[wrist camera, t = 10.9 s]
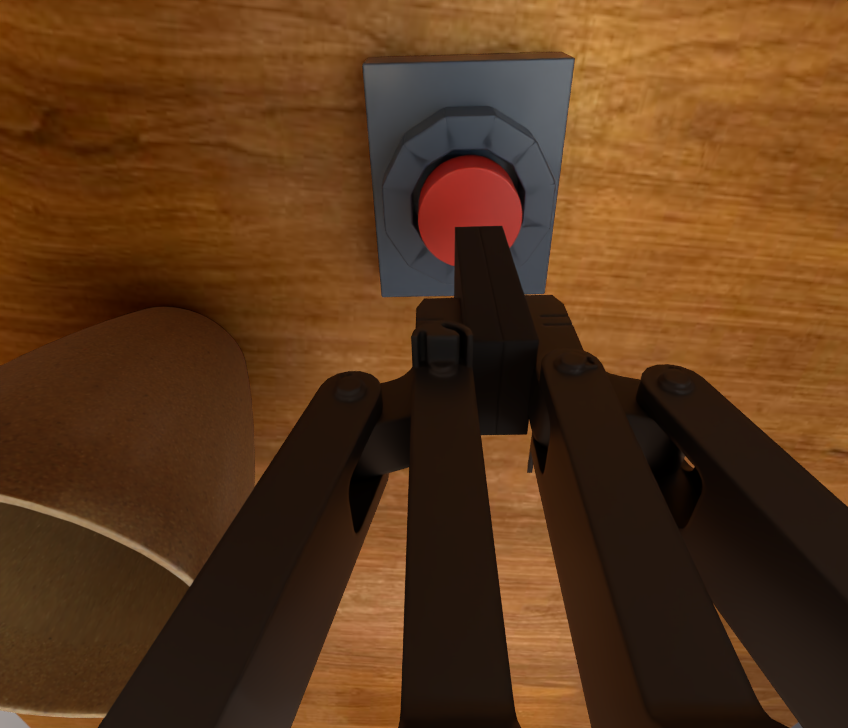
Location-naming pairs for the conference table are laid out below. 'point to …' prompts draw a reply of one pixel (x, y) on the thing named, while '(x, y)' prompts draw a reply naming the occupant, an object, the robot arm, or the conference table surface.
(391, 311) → the conference table surface
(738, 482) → the robot arm
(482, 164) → the button
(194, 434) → the plant pot
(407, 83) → the button block
